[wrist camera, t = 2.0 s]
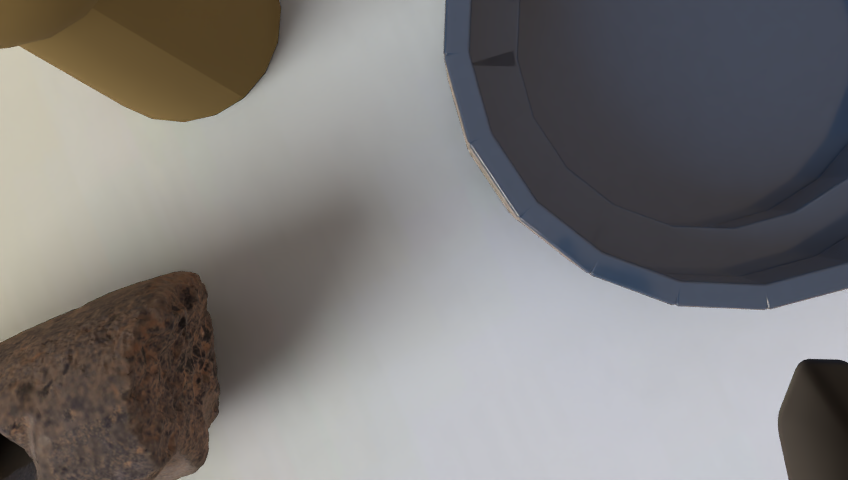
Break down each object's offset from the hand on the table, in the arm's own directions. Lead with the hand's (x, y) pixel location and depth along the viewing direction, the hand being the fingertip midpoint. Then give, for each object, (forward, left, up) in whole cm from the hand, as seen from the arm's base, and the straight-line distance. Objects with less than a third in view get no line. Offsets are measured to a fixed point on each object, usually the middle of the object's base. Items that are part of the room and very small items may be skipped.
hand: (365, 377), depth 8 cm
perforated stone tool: (-11, +6, -14) cm, 19 cm away
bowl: (+9, -2, -14) cm, 17 cm away
